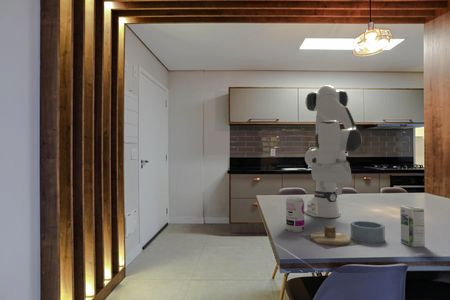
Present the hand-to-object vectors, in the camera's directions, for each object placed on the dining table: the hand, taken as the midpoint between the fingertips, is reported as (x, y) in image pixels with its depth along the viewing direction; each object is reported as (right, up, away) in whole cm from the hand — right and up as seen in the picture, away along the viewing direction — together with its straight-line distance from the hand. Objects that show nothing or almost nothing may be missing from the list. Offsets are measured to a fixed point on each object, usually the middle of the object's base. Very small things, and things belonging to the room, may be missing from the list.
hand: (330, 193), depth 111 cm
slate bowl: (+16, -19, +2) cm, 25 cm away
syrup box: (+30, -19, -6) cm, 36 cm away
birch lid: (0, -19, 0) cm, 19 cm away
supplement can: (-10, -20, +16) cm, 27 cm away
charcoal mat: (0, -19, 0) cm, 19 cm away
